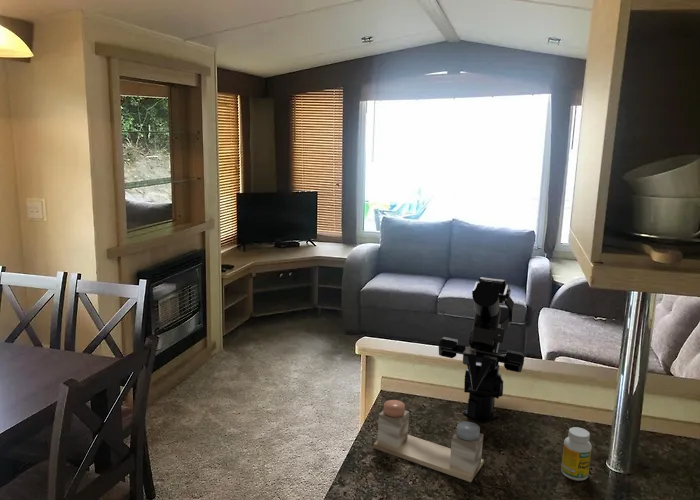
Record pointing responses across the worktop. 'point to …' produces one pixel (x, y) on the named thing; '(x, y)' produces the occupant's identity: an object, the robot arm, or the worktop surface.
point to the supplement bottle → (576, 454)
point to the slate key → (468, 431)
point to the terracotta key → (394, 408)
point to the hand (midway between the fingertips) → (474, 390)
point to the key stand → (429, 448)
